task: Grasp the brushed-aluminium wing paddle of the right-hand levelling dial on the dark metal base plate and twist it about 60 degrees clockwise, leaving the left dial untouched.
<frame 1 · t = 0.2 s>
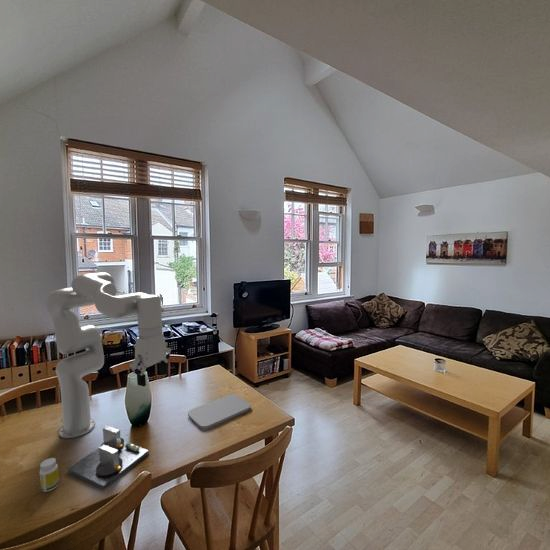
hand: (153, 379, 105), 31 cm above the table, fingers open, 9 cm apart
level dial right: (109, 458, 103), point 5 cm above the table, hinge at 0.0°
tablet: (219, 413, 140), on the table
level dial left: (112, 437, 113), point 5 cm above the table, hinge at 0.0°
base plate: (109, 462, 108), on the table
supplement bottle: (50, 487, 97), on the table
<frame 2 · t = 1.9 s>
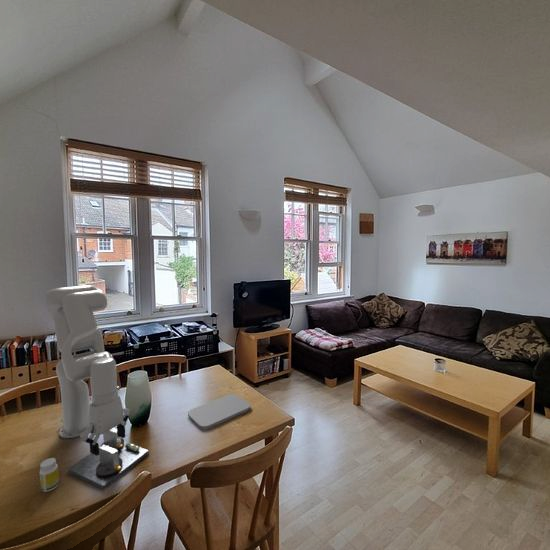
hand: (108, 445, 102), 10 cm above the table, fingers open, 9 cm apart
nothing on the table moved.
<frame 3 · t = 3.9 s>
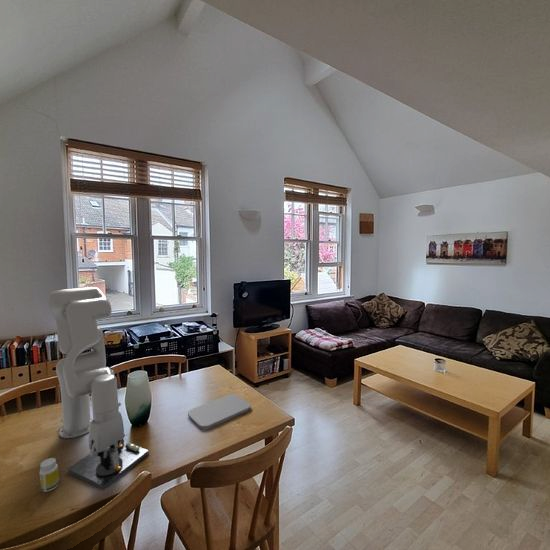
hand: (109, 463, 103), 3 cm above the table, fingers closed on level dial right, 2 cm apart
level dial right: (109, 458, 103), point 5 cm above the table, hinge at -0.1°, touching gripper
everything else where it was.
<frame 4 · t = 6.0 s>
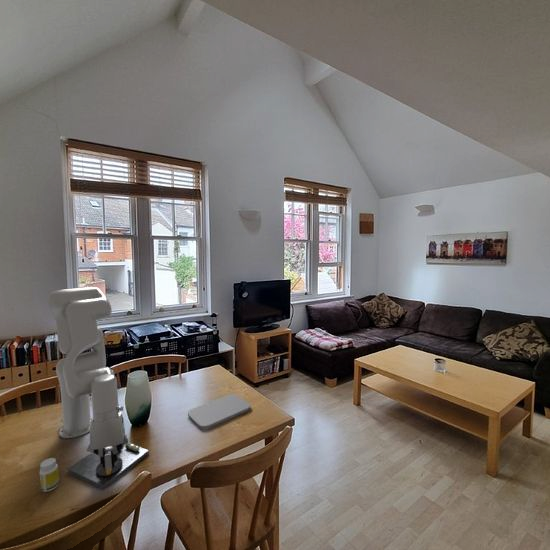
hand: (109, 463, 103), 3 cm above the table, fingers closed on level dial right, 2 cm apart
level dial right: (108, 459, 102), point 5 cm above the table, hinge at -40.2°, touching gripper
everything else where it was.
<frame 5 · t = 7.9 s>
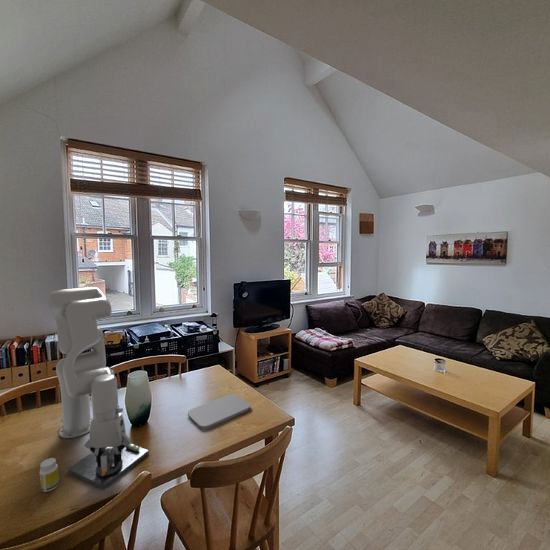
hand: (109, 463, 103), 3 cm above the table, fingers open, 4 cm apart
level dial right: (108, 459, 102), point 5 cm above the table, hinge at -60.5°
everything else where it was.
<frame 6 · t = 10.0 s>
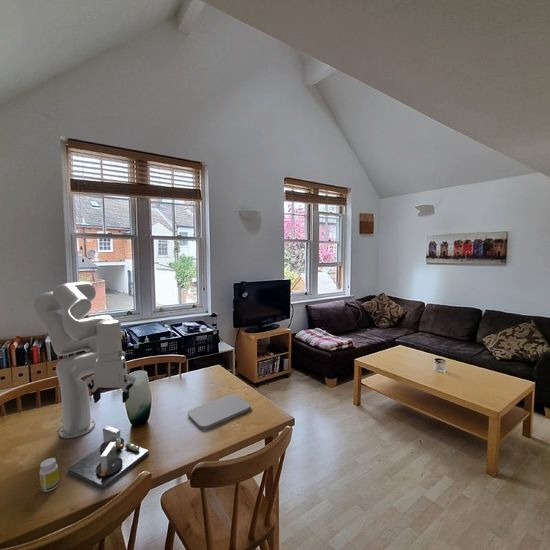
hand: (111, 400, 109), 21 cm above the table, fingers open, 9 cm apart
level dial right: (108, 459, 102), point 5 cm above the table, hinge at -61.0°
everything else where it was.
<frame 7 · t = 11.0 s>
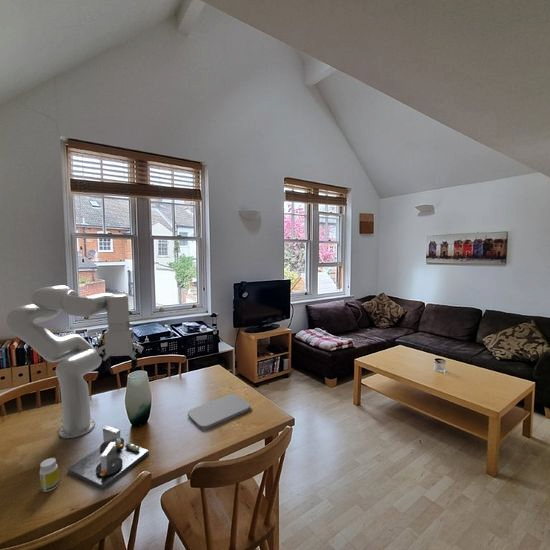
hand: (121, 368, 120), 28 cm above the table, fingers open, 9 cm apart
nothing on the table moved.
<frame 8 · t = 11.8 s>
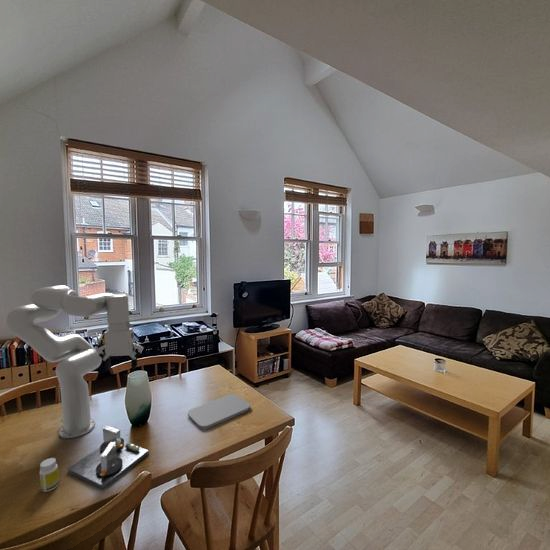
hand: (121, 368, 120), 28 cm above the table, fingers open, 9 cm apart
nothing on the table moved.
at the end: level dial right at -61° (first picture: +0°); level dial left at +0° (first picture: +0°); the gripper is holding nothing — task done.
